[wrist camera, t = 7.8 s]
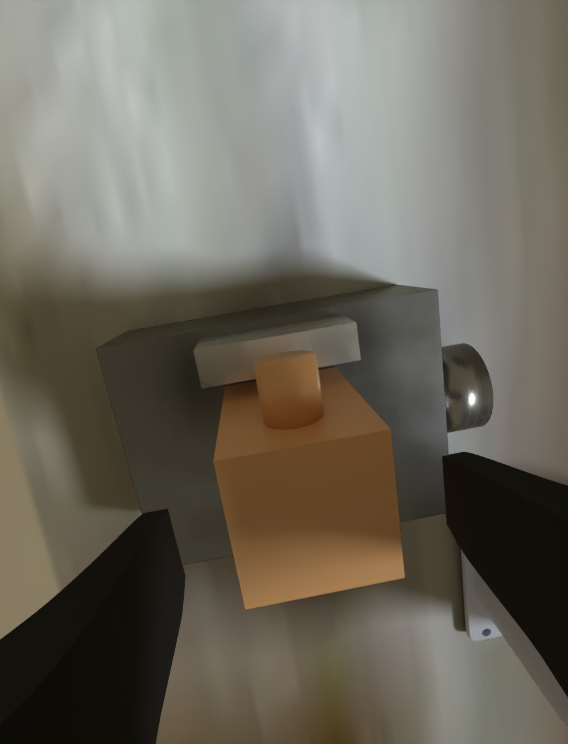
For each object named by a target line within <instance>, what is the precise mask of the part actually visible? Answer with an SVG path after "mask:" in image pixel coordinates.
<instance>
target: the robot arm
mask: <svg viewBox="0 0 568 744" xmlns="http://www.w3.org/2000/svg"><path fill="white" fill-rule="evenodd" d="M442 464H443V478H444V492H445V505H446V519H447V525H448V527H449V529H450V531H451V532H452V534H453V536H454V538H455V539H456V541H457V543H458V545H459V546H460V548H461V560H462V577H463V593H464V609H465V625H466V633H467V635H468V637H469V638H470V639H471V640H473V641H480V640H485V639H489V638H494V637H499V636H503V637H504V638H505V640H506V641H507V643H508V644H509V646H510V647H511V648H512V650H513V651H514V653H515V654H516V656H517V657H518V658H519V660H520V661H521V663H522V664H523V666H524V667H525V668H526V670H527V671H528V673H529V674H530V676H531V677H532V678H533V680H534V681H535V683H536V684H537V686H538V687H539V688H540V690H541V691H542V693H543V694H544V696H545V697H546V699H547V700H548V701H549V703H550V704H551V706H552V707H553V709H554V710H555V711H556V713H557V714H558V716H559V717H560V719H561V720H562V721H563V723H564V724H565V726H566V727H567V729H568V486H567V485H564V484H560V483H557V482H554V481H551V480H548V479H545V478H542V477H539V476H536V475H533V474H530V473H528V472H525V471H522V470H519V469H516V468H513V467H511V466H508V465H505V464H502V463H499V462H497V461H494V460H491V459H488V458H485V457H482V456H479V455H475V454H472V453H468V452H460V453H455V454H450V455H445V456H442ZM184 587H185V573H184V569H183V565H182V561H181V558H180V554H179V550H178V546H177V542H176V538H175V535H174V531H173V527H172V523H171V519H170V515H169V512H168V508H167V509H162V510H157V511H152V512H146V513H143V514H142V515H141V516H140V517H138V518H137V519H136V520H135V521H134V522H133V523H132V524H131V525H130V526H129V527H128V528H127V529H126V530H125V531H124V532H123V533H122V534H121V535H120V536H119V537H118V538H117V539H116V540H115V541H114V542H113V543H112V544H111V545H110V546H109V547H108V548H107V549H106V550H105V551H104V552H103V553H102V554H101V555H100V556H98V557H97V558H96V559H95V560H94V561H93V562H92V563H91V564H90V565H89V566H88V567H87V568H86V569H85V570H84V571H83V572H81V573H80V574H79V575H78V576H77V577H76V578H75V579H74V580H73V581H72V582H70V583H69V584H68V585H67V586H66V587H65V588H64V589H63V590H62V591H60V592H59V593H58V594H57V595H56V596H55V597H54V598H53V599H51V600H50V601H49V602H48V603H47V604H45V605H44V606H43V607H42V608H40V609H39V610H38V611H37V612H36V613H34V614H33V615H32V616H31V617H29V618H28V619H27V620H25V621H24V622H23V623H22V624H20V625H19V626H18V627H16V628H15V629H14V630H12V631H11V632H10V633H9V634H7V635H6V636H4V637H3V638H2V639H1V640H0V744H156V739H157V733H158V727H159V722H160V716H161V711H162V707H163V702H164V697H165V693H166V688H167V684H168V679H169V674H170V670H171V665H172V661H173V656H174V651H175V647H176V642H177V637H178V632H179V628H180V623H181V618H182V610H183V600H184ZM484 629H485V630H484Z"/></svg>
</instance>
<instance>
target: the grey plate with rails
mask: <svg viewBox="0 0 568 744" xmlns="http://www.w3.org/2000/svg"><path fill="white" fill-rule="evenodd" d="M296 350H307V351H313V352H315V353H316V358H317V366H318V370H322V369H328V368H333V367H335V368H336V369H337V370H338V371H339V372H340V373H341V374H342V375H343V377H344V378H345V379H346V380H347V381H348V382H349V383H350V384H351V385H352V387H353V388H354V389H355V390H356V391H357V392H358V393H359V394H360V395H361V397H362V398H363V399H364V400H365V401H366V402H367V403H368V404H369V406H370V407H371V408H372V409H373V410H374V411H375V412H376V413H377V414H378V416H379V417H380V418H381V419H382V420H383V421H384V422H385V423H386V424H387V426H388V427H389V428H390V429H391V438H392V448H393V459H394V469H395V479H396V490H397V500H398V511H399V521H400V522H403V521H408V520H413V519H418V518H424V517H429V516H434V515H439V514H444V513H446V505H445V492H444V478H443V464H442V456H445V455H449V453H448V438H447V433H449V432H454V431H460V430H465V429H470V428H475V427H481V426H484V425H485V424H486V423H487V422H488V421H489V419H490V417H491V414H492V409H493V390H492V384H491V380H490V376H489V373H488V370H487V368H486V365H485V363H484V361H483V359H482V358H481V356H480V355H479V353H478V352H477V351H476V350H475V349H474V348H473V347H472V346H470V345H468V344H465V343H462V344H456V345H450V346H445V347H441V332H440V317H439V302H438V290H437V289H429V288H420V287H412V286H404V285H394V286H388V287H382V288H376V289H370V290H364V291H359V292H353V293H347V294H341V295H335V296H329V297H324V298H318V299H312V300H306V301H300V302H294V303H289V304H283V305H277V306H271V307H265V308H259V309H254V310H248V311H242V312H236V313H230V314H224V315H219V316H213V317H207V318H201V319H195V320H189V321H184V322H178V323H172V324H166V325H160V326H154V327H149V328H143V329H137V330H131V331H127V332H125V333H123V334H121V335H120V336H118V337H116V338H114V339H112V340H111V341H109V342H107V343H105V344H103V345H102V346H100V347H98V348H96V351H97V355H98V358H99V362H100V365H101V369H102V372H103V376H104V380H105V383H106V387H107V390H108V394H109V397H110V401H111V405H112V408H113V412H114V415H115V419H116V422H117V426H118V429H119V433H120V437H121V440H122V444H123V447H124V451H125V454H126V458H127V462H128V465H129V469H130V472H131V476H132V479H133V483H134V486H135V490H136V494H137V497H138V501H139V504H140V508H141V511H142V514H143V513H146V512H152V511H157V510H162V509H167V508H168V512H169V515H170V519H171V523H172V527H173V531H174V535H175V538H176V542H177V546H178V550H179V554H180V558H181V561H182V565H187V564H192V563H198V562H203V561H208V560H213V559H218V558H223V557H228V556H233V551H232V546H231V541H230V537H229V532H228V528H227V523H226V518H225V514H224V509H223V504H222V500H221V495H220V491H219V486H218V481H217V477H216V472H215V467H214V463H213V460H214V453H215V447H216V441H217V435H218V428H219V422H220V416H221V410H222V404H223V397H224V391H225V386H229V385H235V384H241V383H247V382H253V381H256V376H255V371H254V365H253V363H254V361H256V360H257V359H259V358H261V357H264V356H267V355H271V354H275V353H280V352H286V351H296Z"/></svg>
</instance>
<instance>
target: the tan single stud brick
mask: <svg viewBox="0 0 568 744" xmlns="http://www.w3.org/2000/svg"><path fill="white" fill-rule="evenodd" d="M253 365H254V371H255V376H256V381H253V382H247V383H241V384H235V385H229V386H225V391H224V397H223V404H222V410H221V416H220V422H219V428H218V435H217V441H216V447H215V453H214V460H213V463H214V467H215V472H216V477H217V481H218V486H219V491H220V495H221V500H222V504H223V509H224V514H225V518H226V523H227V528H228V532H229V537H230V541H231V546H232V551H233V555H234V560H235V565H236V569H237V574H238V579H239V583H240V588H241V592H242V597H243V602H244V606H245V610H247V609H252V608H257V607H262V606H267V605H272V604H277V603H282V602H287V601H292V600H297V599H302V598H307V597H312V596H317V595H322V594H327V593H332V592H337V591H342V590H347V589H352V588H357V587H362V586H367V585H372V584H377V583H382V582H387V581H392V580H397V579H402V578H405V573H404V563H403V552H402V542H401V532H400V521H399V511H398V500H397V490H396V479H395V469H394V459H393V448H392V438H391V429H390V428H389V427H388V426H387V424H386V423H385V422H384V421H383V420H382V419H381V418H380V417H379V416H378V414H377V413H376V412H375V411H374V410H373V409H372V408H371V407H370V406H369V404H368V403H367V402H366V401H365V400H364V399H363V398H362V397H361V395H360V394H359V393H358V392H357V391H356V390H355V389H354V388H353V387H352V385H351V384H350V383H349V382H348V381H347V380H346V379H345V378H344V377H343V375H342V374H341V373H340V372H339V371H338V370H337V369H336V368H335V367H333V368H328V369H322V370H318V366H317V358H316V353H315V352H313V351H307V350H296V351H286V352H280V353H275V354H271V355H267V356H264V357H261V358H259V359H257V360H256V361H254V363H253Z"/></svg>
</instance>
